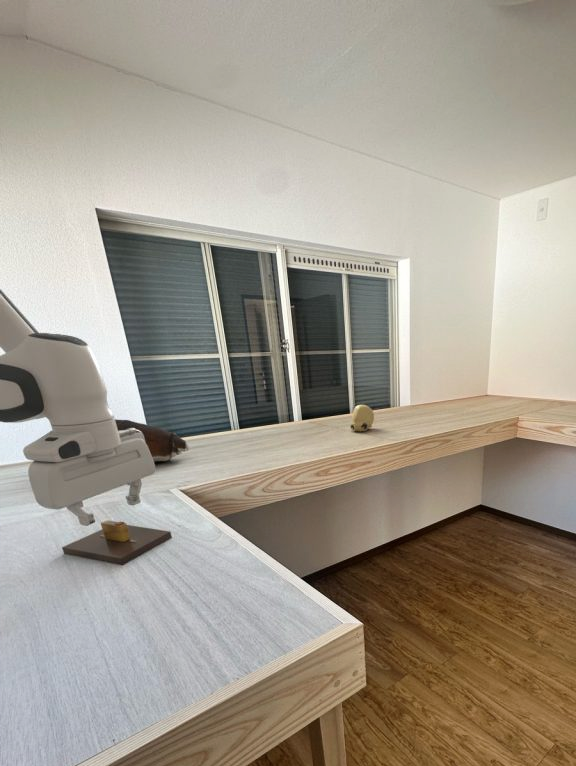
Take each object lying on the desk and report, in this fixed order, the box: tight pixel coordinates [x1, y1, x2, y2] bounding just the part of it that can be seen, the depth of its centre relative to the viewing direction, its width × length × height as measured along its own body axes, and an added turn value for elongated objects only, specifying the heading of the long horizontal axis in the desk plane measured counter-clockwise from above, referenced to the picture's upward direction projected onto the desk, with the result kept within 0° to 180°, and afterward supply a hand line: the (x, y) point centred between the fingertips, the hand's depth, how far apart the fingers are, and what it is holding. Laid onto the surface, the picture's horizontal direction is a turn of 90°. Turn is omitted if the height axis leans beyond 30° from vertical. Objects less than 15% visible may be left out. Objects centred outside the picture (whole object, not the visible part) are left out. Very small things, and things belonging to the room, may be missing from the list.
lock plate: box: [61, 524, 173, 566], centre depth 77 cm, size 14×11×3 cm
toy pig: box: [350, 404, 375, 433], centre depth 176 cm, size 10×12×11 cm
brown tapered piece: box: [115, 418, 190, 462], centre depth 133 cm, size 15×15×25 cm
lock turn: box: [100, 519, 130, 542], centre depth 76 cm, size 5×1×3 cm, turn 71°
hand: (112, 513), depth 75 cm, fingers open, 8 cm apart
